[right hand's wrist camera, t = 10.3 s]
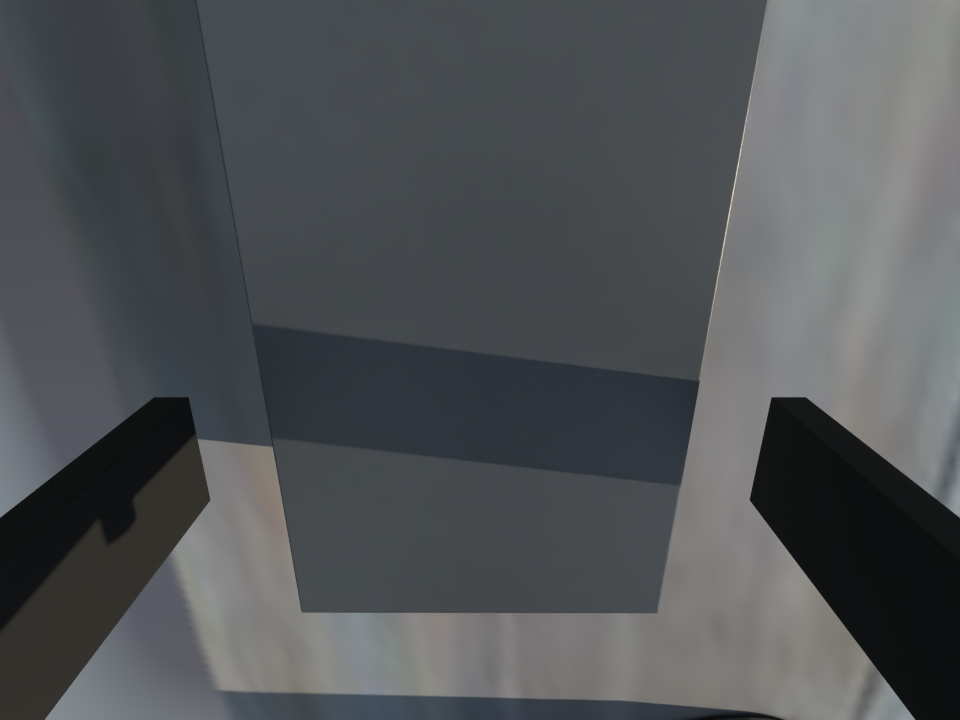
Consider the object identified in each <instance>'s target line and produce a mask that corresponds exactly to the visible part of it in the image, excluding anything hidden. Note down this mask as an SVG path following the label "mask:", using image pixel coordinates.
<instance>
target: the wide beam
mask: <svg viewBox="0 0 960 720" xmlns="http://www.w3.org/2000/svg"><path fill="white" fill-rule="evenodd" d="M195 1H196V7H197V13H198V19H199V24H200V30H201V36H202V42H203V47H204V53H205V59H206V65H207V70H208V76H209V82H210V88H211V93H212V99H213V105H214V111H215V116H216V122H217V128H218V134H219V139H220V145H221V151H222V157H223V162H224V168H225V174H226V180H227V185H228V191H229V197H230V203H231V208H232V214H233V220H234V226H235V231H236V237H237V243H238V249H239V254H240V260H241V266H242V272H243V277H244V283H245V289H246V295H247V300H248V306H249V312H250V318H251V323H252V329H253V335H254V341H255V346H256V352H257V358H258V364H259V369H260V375H261V381H262V387H263V392H264V398H265V404H266V410H267V415H268V421H269V427H270V433H271V438H272V444H273V450H274V456H275V461H276V467H277V473H278V479H279V484H280V490H281V496H282V502H283V507H284V513H285V519H286V525H287V530H288V536H289V542H290V548H291V553H292V559H293V565H294V571H295V576H296V582H297V588H298V594H299V599H300V605H301V611H302V612H332V613H658V609H659V603H660V598H661V592H662V587H663V581H664V576H665V570H666V565H667V559H668V554H669V548H670V543H671V537H672V532H673V526H674V521H675V515H676V510H677V504H678V499H679V493H680V487H681V482H682V476H683V471H684V465H685V460H686V454H687V449H688V443H689V438H690V432H691V427H692V421H693V416H694V410H695V405H696V399H697V394H698V388H699V383H700V377H701V371H702V366H703V360H704V355H705V349H706V344H707V338H708V333H709V327H710V322H711V316H712V311H713V305H714V300H715V294H716V289H717V283H718V278H719V272H720V267H721V261H722V256H723V250H724V244H725V239H726V233H727V228H728V222H729V217H730V211H731V206H732V200H733V195H734V189H735V184H736V178H737V173H738V167H739V162H740V156H741V151H742V145H743V140H744V134H745V129H746V123H747V117H748V112H749V106H750V101H751V95H752V90H753V84H754V79H755V73H756V68H757V62H758V57H759V51H760V46H761V40H762V35H763V29H764V24H765V18H766V13H767V7H768V2H769V0H195Z"/></svg>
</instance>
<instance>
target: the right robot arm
mask: <svg viewBox="0 0 960 720" xmlns="http://www.w3.org/2000/svg"><path fill="white" fill-rule="evenodd" d="M209 501H210V496H209V492H208V487H207V482H206V478H205V473H204V468H203V464H202V459H201V454H200V450H199V445H198V440H197V436H196V431H195V426H194V422H193V417H192V412H191V408H190V403H189V398H188V397H154V398H153V399H152V400H150V401H149V402H148V403H146V404H145V405H144V406H143V407H141V408H140V409H139V410H138V411H136V412H135V413H134V414H132V415H131V416H130V417H129V418H127V419H126V420H125V421H123V422H122V423H121V424H120V425H118V426H117V427H116V428H115V429H113V430H112V431H111V432H109V433H108V434H107V435H106V436H104V437H103V438H102V439H101V440H99V441H98V442H97V443H95V444H94V445H93V446H91V447H90V448H89V449H88V450H86V451H85V452H84V453H83V454H81V455H80V456H79V457H77V458H76V459H75V460H74V461H72V462H71V463H70V464H69V465H67V466H66V467H65V468H63V469H62V470H61V471H60V472H58V473H57V474H56V475H54V476H53V477H52V478H51V479H49V480H48V481H47V482H45V483H44V484H43V485H42V486H40V487H39V488H38V489H36V490H35V491H34V492H33V493H31V494H30V495H29V496H28V497H26V498H25V499H24V500H22V501H21V502H20V503H19V504H17V505H16V506H15V507H14V508H12V509H11V510H10V511H8V512H7V513H6V514H5V515H3V516H2V517H1V518H0V720H45V718H46V717H47V716H48V714H49V713H50V712H51V710H52V709H53V708H54V706H55V705H56V704H57V702H58V701H59V700H60V698H61V697H62V696H63V694H64V693H65V692H66V691H67V689H68V688H69V686H70V685H71V684H72V683H73V681H74V680H75V679H76V677H77V676H78V675H79V673H80V672H81V671H82V669H83V668H84V667H85V665H86V664H87V663H88V661H89V660H90V659H91V657H92V656H93V655H94V653H95V652H96V651H97V649H98V648H99V647H100V645H101V644H102V643H103V642H104V640H105V639H106V638H107V636H108V635H109V634H110V632H111V631H112V630H113V628H114V627H115V626H116V624H117V623H118V622H119V620H120V619H121V618H122V616H123V615H124V614H125V612H126V611H127V610H128V608H129V607H130V606H131V604H132V603H133V602H134V600H135V599H136V598H137V596H138V595H139V594H140V592H141V591H142V590H143V588H144V587H145V586H146V585H147V583H148V582H149V581H150V579H151V578H152V577H153V575H154V574H155V573H156V571H157V570H158V569H159V567H160V566H161V565H162V563H163V562H164V561H165V559H166V558H167V557H168V555H169V554H170V553H171V551H172V550H173V549H174V547H175V546H176V545H177V543H178V542H179V541H180V540H181V538H182V537H183V536H184V534H185V533H186V532H187V530H188V529H189V528H190V526H191V525H192V524H193V522H194V521H195V520H196V518H197V517H198V516H199V514H200V513H201V512H202V510H203V509H204V508H205V506H206V505H207V504H208V502H209ZM750 501H751V502H752V504H753V505H754V506H755V508H756V509H757V510H758V512H759V513H760V514H761V516H762V517H763V518H764V520H765V521H766V522H767V524H768V525H769V526H770V528H771V529H772V530H773V532H774V533H775V534H776V536H777V537H778V538H779V540H780V541H781V542H782V543H783V545H784V546H785V547H786V549H787V550H788V551H789V553H790V554H791V555H792V557H793V558H794V559H795V561H796V562H797V563H798V565H799V566H800V567H801V569H802V570H803V571H804V573H805V574H806V575H807V577H808V578H809V579H810V581H811V582H812V583H813V585H814V586H815V587H816V589H817V590H818V591H819V592H820V594H821V595H822V596H823V598H824V599H825V600H826V602H827V603H828V604H829V606H830V607H831V608H832V610H833V611H834V612H835V614H836V615H837V616H838V618H839V619H840V620H841V622H842V623H843V624H844V626H845V627H846V628H847V630H848V631H849V632H850V634H851V635H852V636H853V638H854V639H855V640H856V642H857V643H858V644H859V645H860V647H861V648H862V649H863V651H864V652H865V653H866V655H867V656H868V657H869V659H870V660H871V661H872V663H873V664H874V665H875V667H876V668H877V669H878V671H879V672H880V673H881V675H882V676H883V677H884V679H885V680H886V681H887V683H888V684H889V685H890V687H891V688H892V689H893V691H894V692H895V693H896V695H897V696H898V697H899V698H900V700H901V701H902V702H903V704H904V705H905V706H906V708H907V709H908V710H909V712H910V713H911V714H912V716H913V717H914V718H915V720H960V518H959V517H958V516H957V515H955V514H954V513H953V512H952V511H950V510H949V509H948V508H947V507H945V506H944V505H943V504H941V503H940V502H939V501H938V500H936V499H935V498H934V497H932V496H931V495H930V494H929V493H927V492H926V491H925V490H924V489H922V488H921V487H920V486H918V485H917V484H916V483H915V482H913V481H912V480H911V479H909V478H908V477H907V476H906V475H904V474H903V473H902V472H900V471H899V470H898V469H897V468H895V467H894V466H893V465H892V464H890V463H889V462H888V461H886V460H885V459H884V458H883V457H881V456H880V455H879V454H877V453H876V452H875V451H874V450H872V449H871V448H870V447H869V446H867V445H866V444H865V443H863V442H862V441H861V440H860V439H858V438H857V437H856V436H854V435H853V434H852V433H851V432H849V431H848V430H847V429H845V428H844V427H843V426H842V425H840V424H839V423H838V422H837V421H835V420H834V419H833V418H831V417H830V416H829V415H828V414H826V413H825V412H824V411H822V410H821V409H820V408H819V407H817V406H816V405H815V404H814V403H812V402H811V401H810V400H808V399H807V398H806V397H772V398H771V403H770V408H769V412H768V417H767V422H766V426H765V431H764V436H763V440H762V445H761V450H760V454H759V459H758V464H757V468H756V473H755V478H754V482H753V487H752V492H751V496H750ZM714 720H774V719H766V718H746V717H742V718H722V719H714Z"/></svg>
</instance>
